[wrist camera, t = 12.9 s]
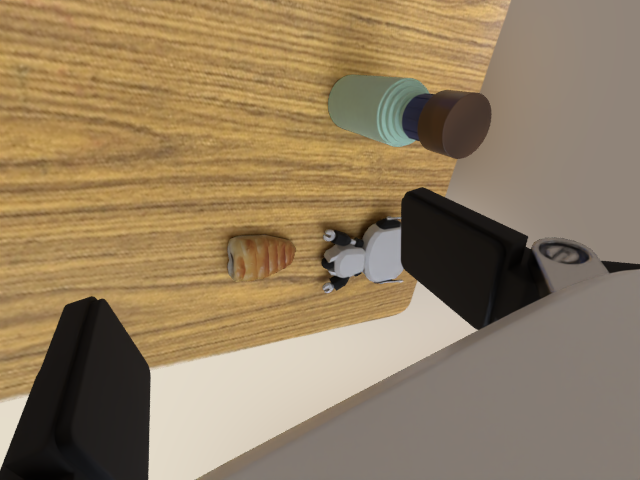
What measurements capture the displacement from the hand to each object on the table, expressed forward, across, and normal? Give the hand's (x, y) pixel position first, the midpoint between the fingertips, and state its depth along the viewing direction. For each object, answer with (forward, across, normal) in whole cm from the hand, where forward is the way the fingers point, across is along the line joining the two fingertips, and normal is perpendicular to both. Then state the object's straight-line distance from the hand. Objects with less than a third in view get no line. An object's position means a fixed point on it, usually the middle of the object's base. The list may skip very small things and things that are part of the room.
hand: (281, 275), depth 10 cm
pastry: (+31, -3, +18) cm, 35 cm away
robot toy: (+31, -19, +23) cm, 43 cm away
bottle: (+30, -19, +1) cm, 36 cm away
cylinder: (+14, -19, +1) cm, 24 cm away
